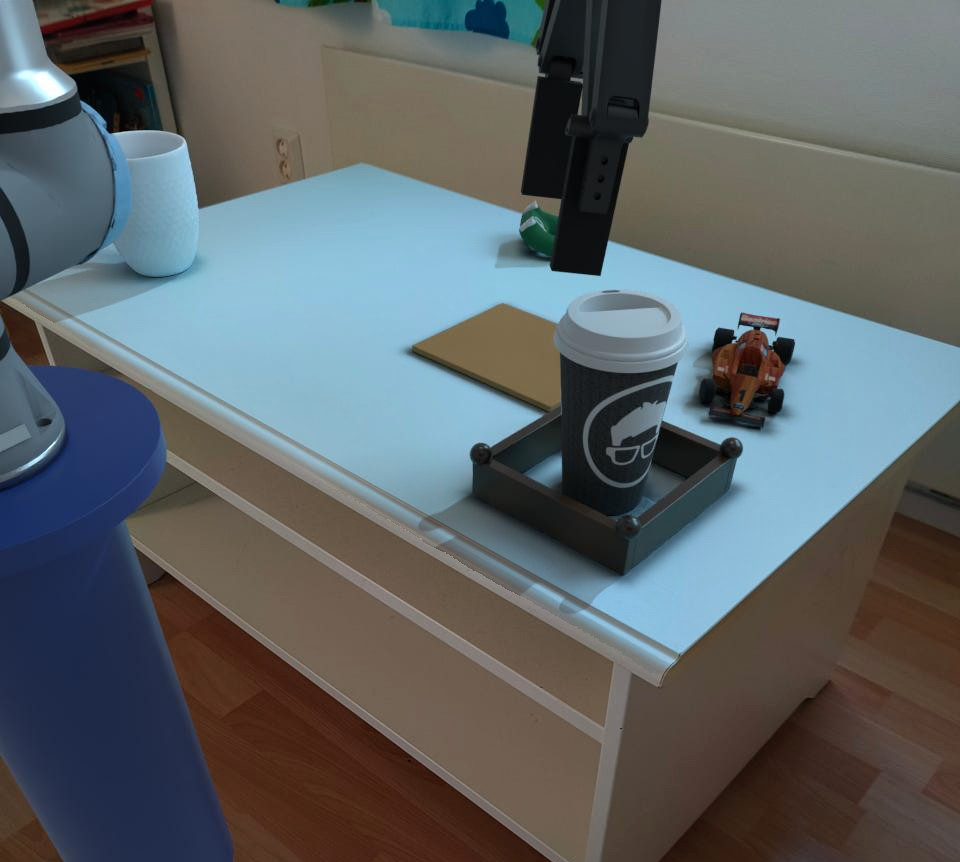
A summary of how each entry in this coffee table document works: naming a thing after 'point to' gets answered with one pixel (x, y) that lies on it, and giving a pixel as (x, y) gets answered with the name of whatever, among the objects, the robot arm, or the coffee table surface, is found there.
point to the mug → (159, 204)
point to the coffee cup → (614, 392)
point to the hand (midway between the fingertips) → (556, 230)
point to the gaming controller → (538, 229)
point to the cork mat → (503, 353)
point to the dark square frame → (585, 526)
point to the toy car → (747, 369)
